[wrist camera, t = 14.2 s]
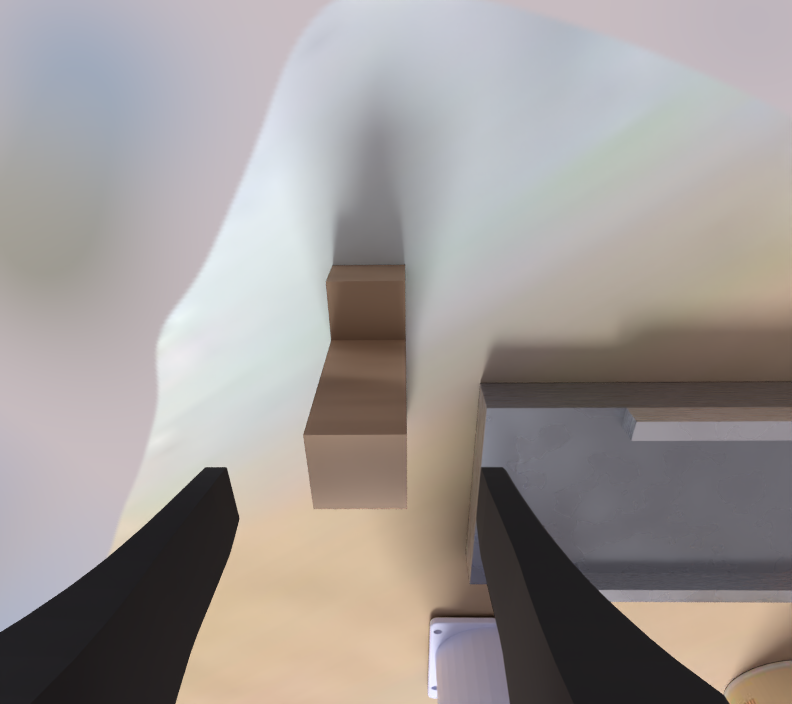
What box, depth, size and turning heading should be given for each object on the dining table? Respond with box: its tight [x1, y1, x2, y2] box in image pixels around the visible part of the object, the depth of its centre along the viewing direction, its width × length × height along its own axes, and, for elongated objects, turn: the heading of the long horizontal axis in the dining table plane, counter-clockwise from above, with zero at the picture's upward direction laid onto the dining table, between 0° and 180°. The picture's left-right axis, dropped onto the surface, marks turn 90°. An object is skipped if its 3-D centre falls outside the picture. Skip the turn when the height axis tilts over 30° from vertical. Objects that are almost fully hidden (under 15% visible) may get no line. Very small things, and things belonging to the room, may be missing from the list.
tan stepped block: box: [303, 265, 407, 509], centre depth 18 cm, size 8×3×8 cm, turn 1°
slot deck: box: [466, 382, 792, 602], centre depth 23 cm, size 12×20×3 cm, turn 91°
